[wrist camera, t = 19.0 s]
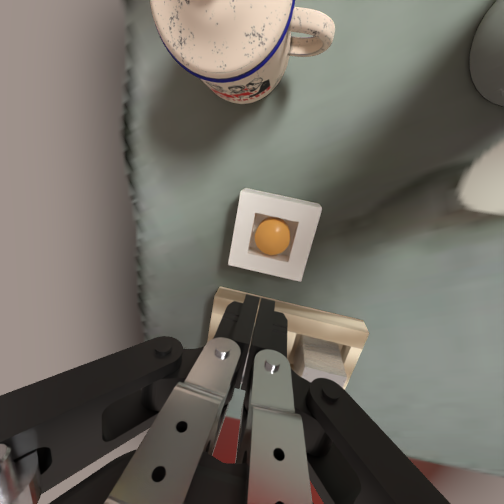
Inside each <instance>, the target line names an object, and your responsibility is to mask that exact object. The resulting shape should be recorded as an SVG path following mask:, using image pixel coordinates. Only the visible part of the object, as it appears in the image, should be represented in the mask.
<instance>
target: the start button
mask: <svg viewBox="0 0 504 504" xmlns="http://www.w3.org/2000/svg"><path fill="white" fill-rule="evenodd" d="M289 242H290V229H289V226H288V225H287V223H286V222H285V221H284V220H282V219H281V218H278V217H269V218H266V219H264V220H263V221H262V222H261V223H260V224H259V226H258V228H257V230H256V233H255V243H256V245H257V247H258V248H259V249H260V250H261V251H262V252H264V253H266V254H269V255H276V254H280V253H282V252H283V251H284V250H285V249H286V248H287V247H288V245H289Z"/></svg>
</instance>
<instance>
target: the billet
mask: <svg viewBox="0 0 504 504" xmlns="http://www.w3.org/2000/svg"><path fill="white" fill-rule="evenodd" d="M293 362H294V372H295V373H296V374H297V375H299V376H300V377H302V378H304V379H306V380H307V381H309V382H312V381H313V380H314V379H317V378H327V379H330V380H332V381H334V382H336V383H337V384H339V385H340V386H341V387H342V388H343V386H344V384H345V381H346V379H347V375H346V372H345V368H344V365H343V361H342V357H341V354H340V350H339V346H338V343H334V342H330V341H326V340H322V339H318V338H314V337H310V336H306V335H301V336H300V339H299V342H298V345H297V348H296V351H295V355H294V358H293Z"/></svg>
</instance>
